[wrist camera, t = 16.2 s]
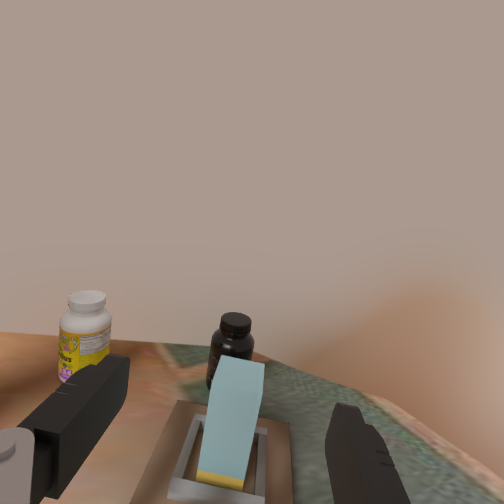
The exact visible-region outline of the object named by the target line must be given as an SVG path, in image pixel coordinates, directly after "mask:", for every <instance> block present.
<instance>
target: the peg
mask: <svg viewBox="0 0 504 504" xmlns="http://www.w3.org/2000/svg"><path fill="white" fill-rule="evenodd" d="M264 367H265V364H262V363H258V362H253V361H248V360H243V359H239V358H234V357H229V356H224V355H221V358H220V361H219V364H218V366H217V369H216V372H215V375H214V378H213V381H212V384H211V390H210V396H209V403H208V409H207V415H206V421H205V427H204V433H203V439H202V445H201V451H200V457H199V463H198V469H197V475H196V481H198V482H203V483H207V484H211V485H215V486H220V487H224V488H228V489H233V490H237V491H241V492H242V488H243V484H244V479H245V474H246V470H247V465H248V460H249V455H250V451H251V446H252V441H253V437H254V432H255V427H256V423H257V418H258V413H259V408H260V404H261V399H262V394H263V381H264Z"/></svg>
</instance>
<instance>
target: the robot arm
mask: <svg viewBox="0 0 504 504" xmlns="http://www.w3.org/2000/svg"><path fill="white" fill-rule="evenodd" d="M129 367H130V358H129V357H125V356H121V355H116V354H111V353H109V354H107V355H106V356H105V357H104V358H103V359H102V360H101V361H100V362H99V363H98V364H97V365H93V364H89V365H87V366H85V367H84V368H82V369H80V370H78V371H76V372H75V373H74V374H73V375H71V376H70V377H69V378H68V379H67V380H66V381H65V383H64V384H62V385H61V386H60V387H59V388H58V389H56V391H55V393H52V394H51V395H50V396H49V397H48V398H47V399H46V400H45V401H44V402H43V403H41V404H40V405H39V406H38V407H37V408H36V409H35V410H34V411H33V412H32V413H31V414H30V415H29V416H28V417H26V418H25V419H24V420H23V421H22V422H21V423H20V424H19V425H18V426H17V427H14V428H7V429H3V430H0V504H39V503H40V502H41V501H42V499H43V498H44V497H49V498H53V499H57V500H58V499H59V497H60V496H61V494H62V493H63V491H64V490H65V489H66V487H67V486H68V484H69V483H70V481H71V480H72V478H73V477H74V476H75V474H76V473H77V471H78V470H79V468H80V467H81V465H82V464H83V462H84V461H85V460H86V458H87V457H88V455H89V454H90V452H91V451H92V449H93V448H94V447H95V445H96V444H97V442H98V441H99V439H100V438H101V436H102V435H103V434H104V432H105V431H106V429H107V428H108V426H109V425H110V423H111V422H112V421H113V419H114V418H115V416H116V415H117V413H118V412H119V410H120V409H121V407H122V405H123V403H124V401H125V398H126V395H127V388H128V378H129ZM325 455H326V460H327V466H328V471H329V477H330V482H331V487H332V493H333V498H334V503H335V504H411V503H410V501H409V498H408V496H407V494H406V491H405V489H404V487H403V484H402V482H401V479H400V477H399V475H398V472H397V470H396V469H395V468H394V466H395V465H394V463H393V461H392V458H391V456H389V451H388V449H387V447H386V444H385V442H384V440H383V438H382V437H381V436H380V434H379V433H378V432H377V431H376V429H375V428H374V427H373V426H372V425H368V424H365V422H364V419H363V417H362V414H361V411H360V409H359V408H358V407H357V406H352V405H347V404H343V403H336V405H335V408H334V411H333V414H332V418H331V421H330V424H329V428H328V431H327V434H326V440H325Z"/></svg>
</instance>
